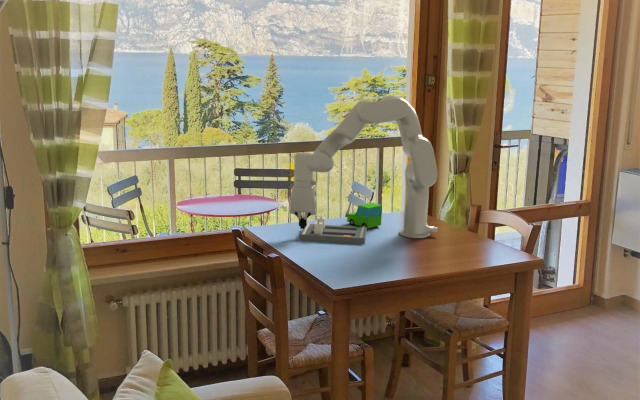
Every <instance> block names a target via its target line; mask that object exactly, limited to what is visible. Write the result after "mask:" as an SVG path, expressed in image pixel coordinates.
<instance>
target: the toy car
mask: <svg viewBox="0 0 640 400" xmlns="http://www.w3.org/2000/svg"><path fill="white" fill-rule="evenodd" d="M382 210H383V205H382V204H379V203H375V202H369V203H364V204H363V203H362V204H359V205H358V207H357V209H356V211H355V212H352V213H351V212H350V213H347V217H346V221H347V222H348V223H349V226H351V225H352V226H358V227H362V226H363V227H367V230H368V229H370V228H378V226H381V225H382V215H383V211H382Z"/></svg>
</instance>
